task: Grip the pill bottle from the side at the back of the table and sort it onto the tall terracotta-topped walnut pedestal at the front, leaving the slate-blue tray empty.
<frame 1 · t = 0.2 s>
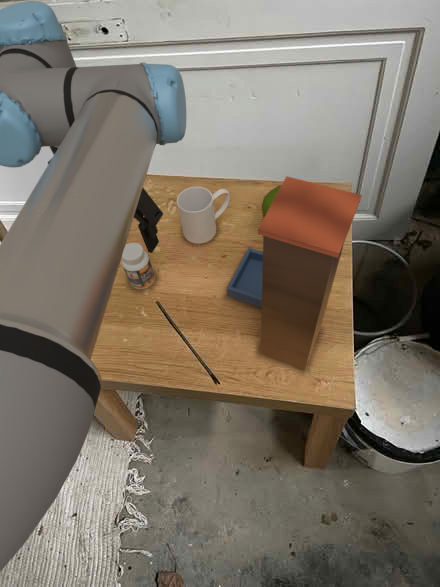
hand: (121, 239, 75), 18 cm above the table, tool pointing down, fingers open, 13 cm apart
pill bottle: (142, 280, 92), on the table
mug: (208, 228, 99), on the table
blue tray: (263, 283, 89), on the table
stand: (290, 342, 81), on the table
apple: (288, 231, 97), on the table
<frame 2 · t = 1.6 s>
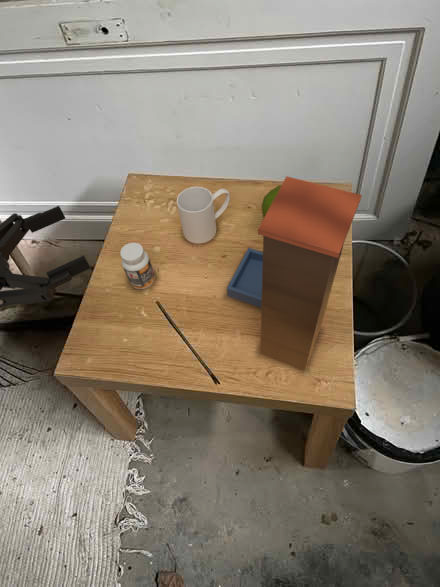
hand: (74, 235, 73), 20 cm above the table, tool horizontal, fingers open, 13 cm apart
nothing on the table moved.
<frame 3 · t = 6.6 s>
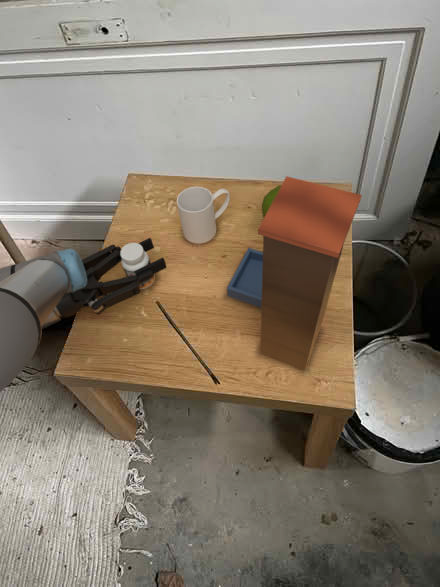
hand: (158, 252, 88), 6 cm above the table, tool horizontal, fingers closed on pill bottle, 6 cm apart
pill bottle: (142, 280, 92), on the table, touching gripper
everything else where it was.
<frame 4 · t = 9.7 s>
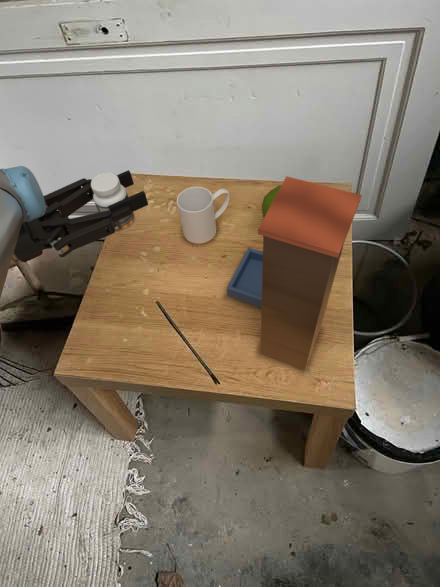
hand: (138, 187, 73), 24 cm above the table, tool horizontal, fingers closed on pill bottle, 6 cm apart
pill bottle: (120, 224, 77), point 18 cm above the table, touching gripper
everything else where it was.
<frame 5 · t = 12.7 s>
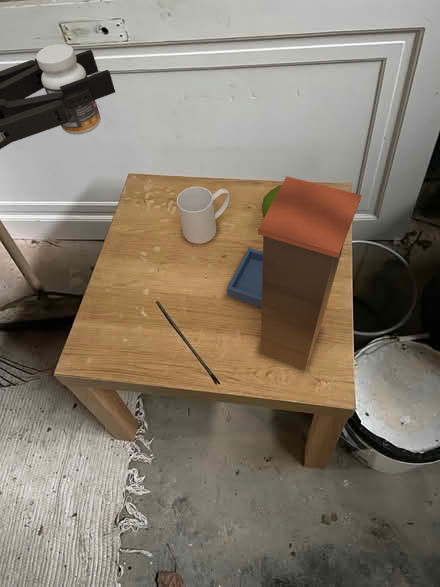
hand: (102, 70, 56), 45 cm above the table, tool horizontal, fingers closed on pill bottle, 6 cm apart
pill bottle: (82, 125, 60), point 39 cm above the table, touching gripper
everything else where it was.
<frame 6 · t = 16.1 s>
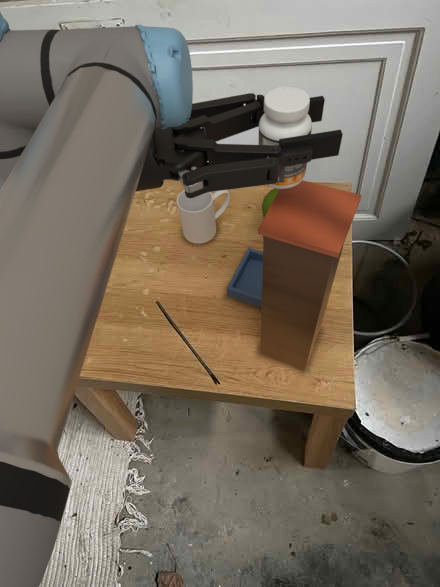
hand: (330, 125, 46), 45 cm above the table, tool horizontal, fingers closed on pill bottle, 6 cm apart
pill bottle: (281, 176, 51), point 39 cm above the table, touching gripper
everything else where it was.
when the fingers open (42 cm above the table, at t = 18.6 s): pill bottle stays where it is, resting on stand.
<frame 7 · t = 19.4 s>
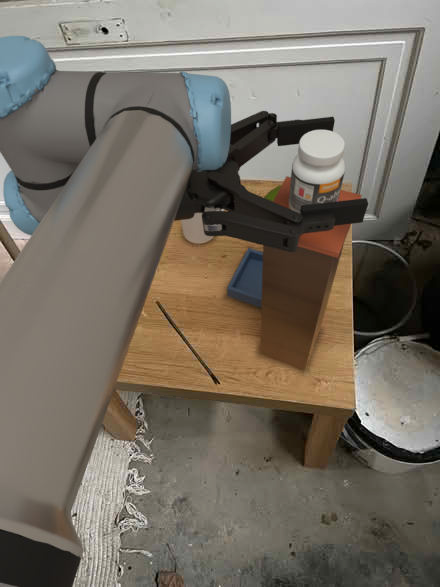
hand: (347, 166, 46), 43 cm above the table, tool horizontal, fingers open, 13 cm apart
pill bottle: (311, 212, 52), point 36 cm above the table, touching stand
everything else where it was.
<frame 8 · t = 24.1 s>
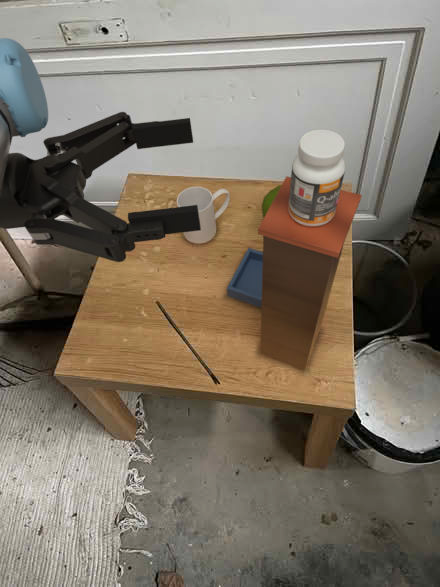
hand: (195, 170, 44), 45 cm above the table, tool horizontal, fingers open, 13 cm apart
nothing on the table moved.
at the end: pill bottle inside the target area on the stand (0.0 cm from its centre), point 35.8 cm above the stand's base; pill bottle tilted 0°; the gripper is holding nothing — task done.
